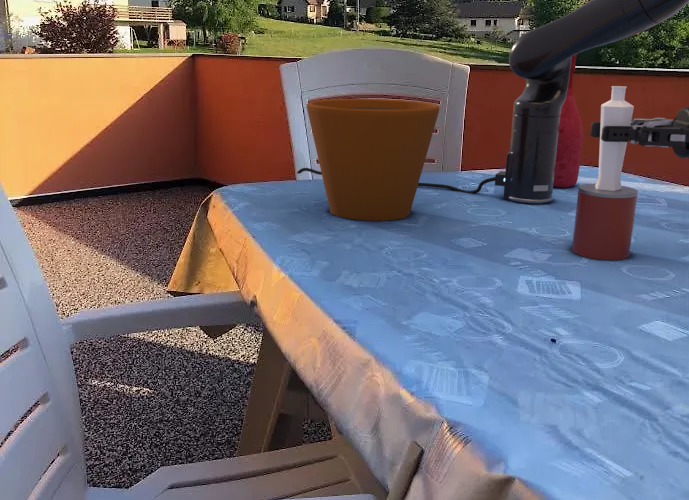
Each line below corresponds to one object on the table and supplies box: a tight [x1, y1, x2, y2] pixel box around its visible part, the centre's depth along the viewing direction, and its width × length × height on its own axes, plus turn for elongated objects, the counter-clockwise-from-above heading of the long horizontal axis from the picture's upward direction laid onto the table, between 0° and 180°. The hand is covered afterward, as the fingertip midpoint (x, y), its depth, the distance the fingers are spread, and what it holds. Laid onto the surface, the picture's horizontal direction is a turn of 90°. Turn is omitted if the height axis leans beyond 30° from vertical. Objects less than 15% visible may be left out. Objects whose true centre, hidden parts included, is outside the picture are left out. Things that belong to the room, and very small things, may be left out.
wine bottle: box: [553, 54, 584, 189], centre depth 159 cm, size 10×10×30 cm
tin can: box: [571, 183, 639, 261], centre depth 108 cm, size 8×8×10 cm
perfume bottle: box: [595, 85, 635, 191], centre depth 105 cm, size 5×4×15 cm
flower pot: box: [306, 98, 440, 222], centre depth 130 cm, size 24×24×20 cm
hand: (597, 131), depth 104 cm, fingers closed on perfume bottle, 4 cm apart
